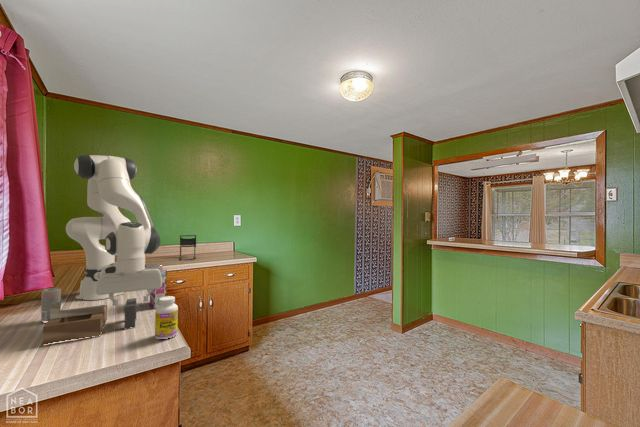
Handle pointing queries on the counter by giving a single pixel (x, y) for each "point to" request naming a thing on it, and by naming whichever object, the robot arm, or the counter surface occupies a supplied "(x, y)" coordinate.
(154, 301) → the candy bar box
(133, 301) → the gray block
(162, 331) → the supplement bottle
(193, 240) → the chair
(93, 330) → the shelf
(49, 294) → the energy drink
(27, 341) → the counter surface
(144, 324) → the counter surface
